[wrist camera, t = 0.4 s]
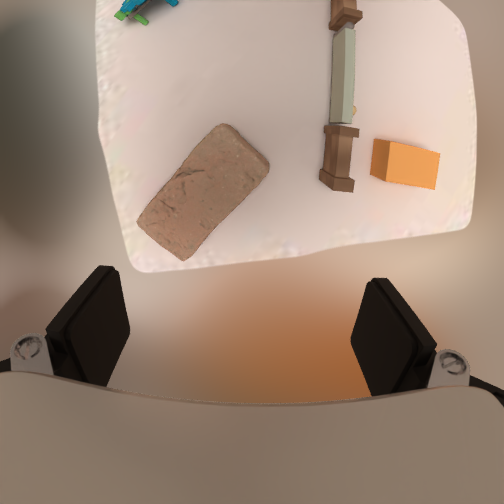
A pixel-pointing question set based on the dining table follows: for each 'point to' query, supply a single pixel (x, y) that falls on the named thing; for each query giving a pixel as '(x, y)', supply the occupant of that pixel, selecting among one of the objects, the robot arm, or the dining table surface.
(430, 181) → the orange rectangular block
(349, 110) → the door
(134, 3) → the blue green toy
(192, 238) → the brick
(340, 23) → the wall frame
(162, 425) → the robot arm
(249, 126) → the dining table surface
